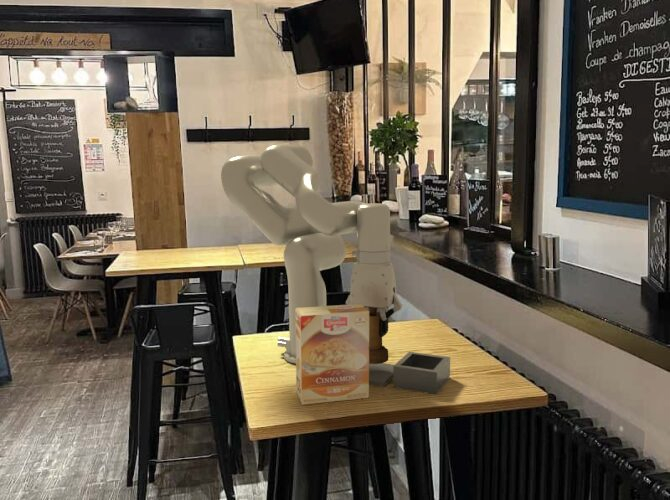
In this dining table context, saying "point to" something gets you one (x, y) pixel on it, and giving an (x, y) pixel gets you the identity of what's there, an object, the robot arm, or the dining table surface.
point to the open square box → (421, 372)
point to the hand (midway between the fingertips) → (373, 333)
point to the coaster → (380, 374)
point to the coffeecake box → (332, 353)
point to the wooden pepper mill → (376, 339)
